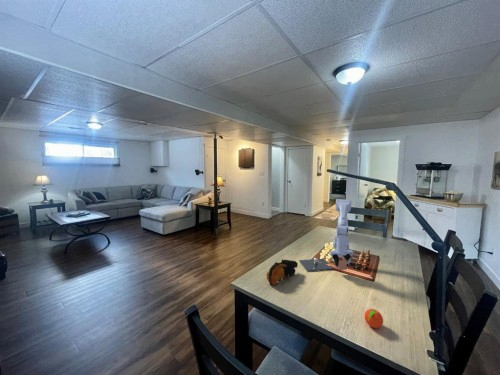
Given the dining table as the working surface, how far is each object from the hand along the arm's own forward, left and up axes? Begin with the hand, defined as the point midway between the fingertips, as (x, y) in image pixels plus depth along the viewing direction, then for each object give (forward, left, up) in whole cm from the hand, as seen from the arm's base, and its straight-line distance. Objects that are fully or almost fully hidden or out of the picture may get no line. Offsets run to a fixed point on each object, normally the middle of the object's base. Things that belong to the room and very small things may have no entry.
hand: (340, 265), depth 132 cm
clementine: (+10, +42, -6) cm, 43 cm away
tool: (+37, 0, -6) cm, 37 cm away
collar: (0, 0, -1) cm, 1 cm away
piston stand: (+10, -13, -6) cm, 17 cm away
